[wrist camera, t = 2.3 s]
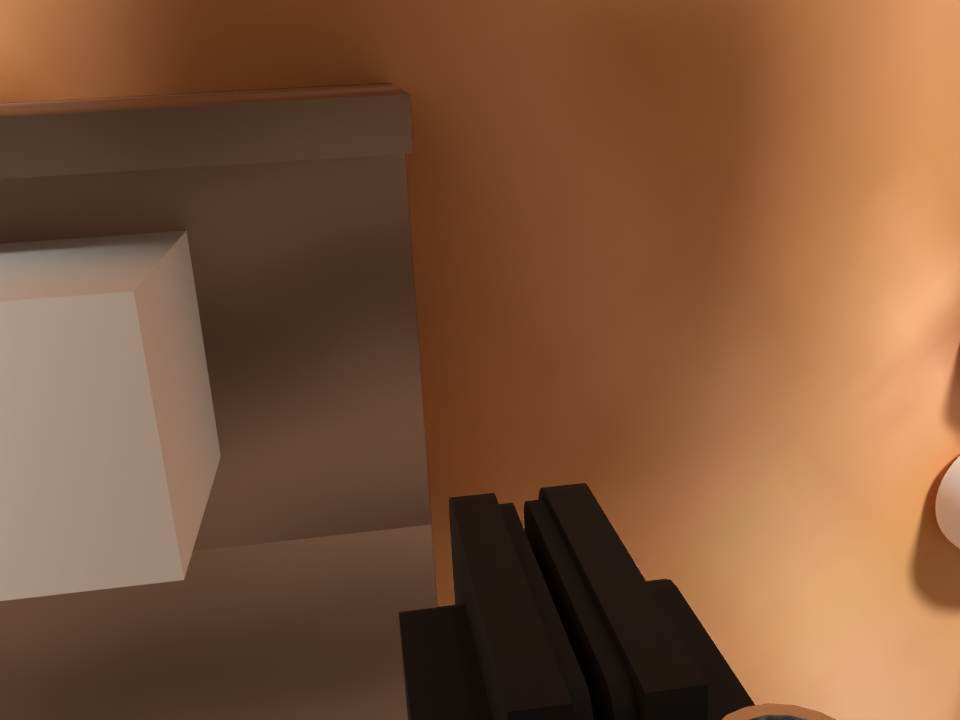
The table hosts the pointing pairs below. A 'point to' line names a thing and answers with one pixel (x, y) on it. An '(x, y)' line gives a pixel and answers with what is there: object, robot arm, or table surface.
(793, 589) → the table surface
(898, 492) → the table surface
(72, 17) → the table surface
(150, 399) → the block
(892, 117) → the table surface
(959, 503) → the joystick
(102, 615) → the box
